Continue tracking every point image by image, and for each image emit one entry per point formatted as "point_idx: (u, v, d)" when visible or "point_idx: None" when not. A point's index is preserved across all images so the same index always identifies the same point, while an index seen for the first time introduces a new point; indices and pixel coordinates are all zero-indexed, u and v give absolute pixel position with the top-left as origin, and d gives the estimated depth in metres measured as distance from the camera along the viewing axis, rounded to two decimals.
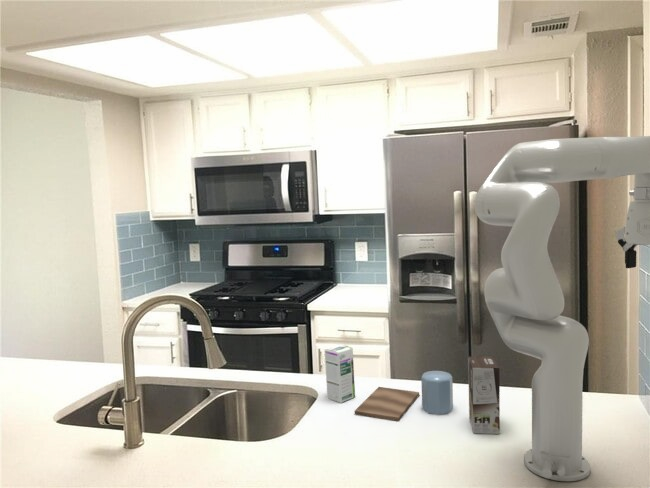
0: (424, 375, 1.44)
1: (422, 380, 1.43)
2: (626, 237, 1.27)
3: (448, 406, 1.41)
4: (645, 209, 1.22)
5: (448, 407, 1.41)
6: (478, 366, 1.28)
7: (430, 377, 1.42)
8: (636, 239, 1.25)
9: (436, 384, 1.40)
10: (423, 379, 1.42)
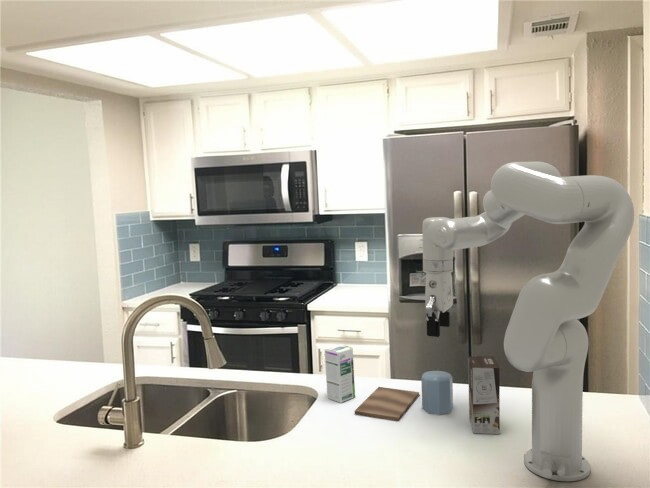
0: (424, 375, 1.44)
1: (422, 380, 1.43)
2: (444, 307, 1.36)
3: (448, 406, 1.41)
4: (448, 278, 1.39)
5: (448, 407, 1.41)
6: (478, 366, 1.28)
7: (430, 377, 1.42)
8: (447, 306, 1.38)
9: (436, 384, 1.40)
10: (423, 379, 1.42)
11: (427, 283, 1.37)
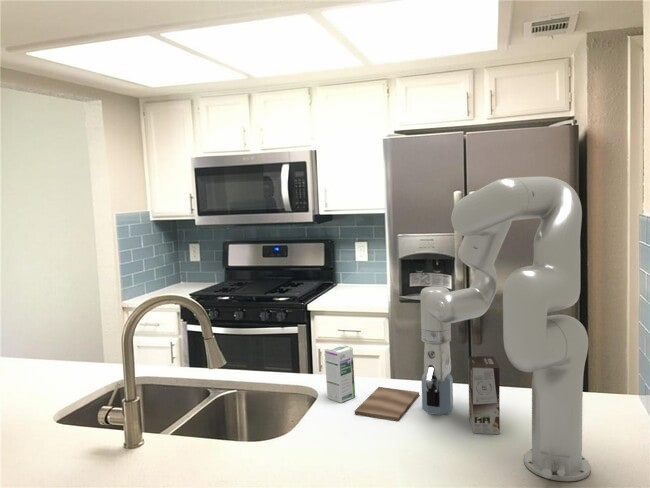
0: None
1: (422, 380, 1.43)
2: (442, 377, 1.38)
3: (448, 406, 1.41)
4: (446, 347, 1.41)
5: (448, 407, 1.41)
6: (478, 366, 1.28)
7: None
8: (445, 375, 1.40)
9: None
10: (423, 379, 1.42)
11: (426, 353, 1.39)
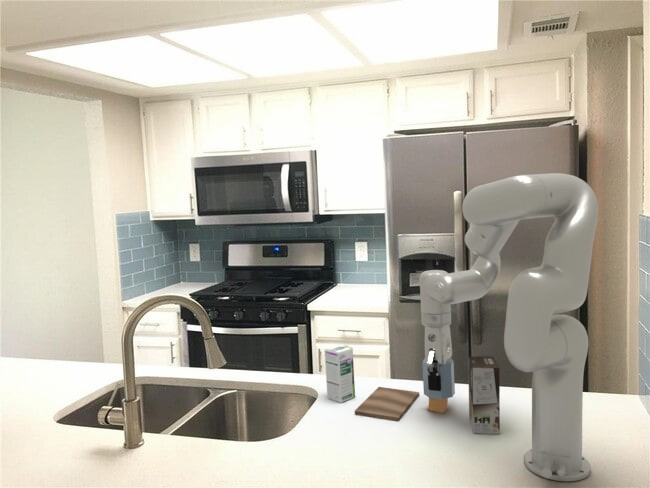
0: None
1: (423, 365, 1.42)
2: (443, 360, 1.37)
3: (450, 390, 1.40)
4: (447, 330, 1.40)
5: (450, 391, 1.40)
6: (478, 366, 1.28)
7: None
8: (446, 359, 1.39)
9: None
10: (424, 364, 1.42)
11: (426, 336, 1.38)
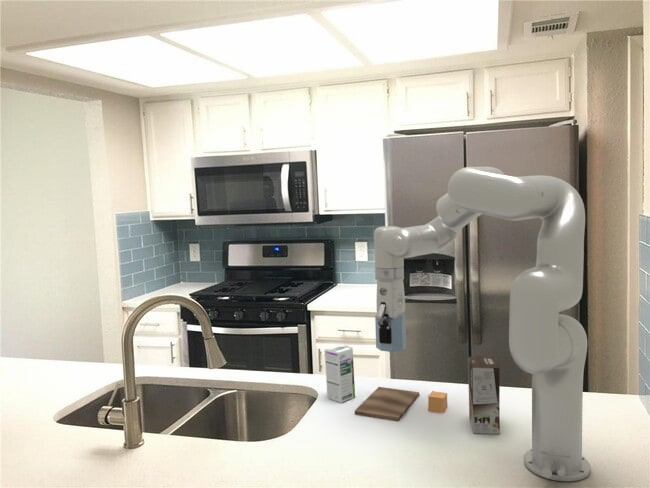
0: None
1: (376, 319, 1.45)
2: (394, 314, 1.40)
3: (400, 343, 1.43)
4: (399, 285, 1.43)
5: (400, 344, 1.43)
6: (478, 366, 1.28)
7: None
8: (397, 313, 1.42)
9: None
10: (376, 317, 1.44)
11: (378, 290, 1.41)
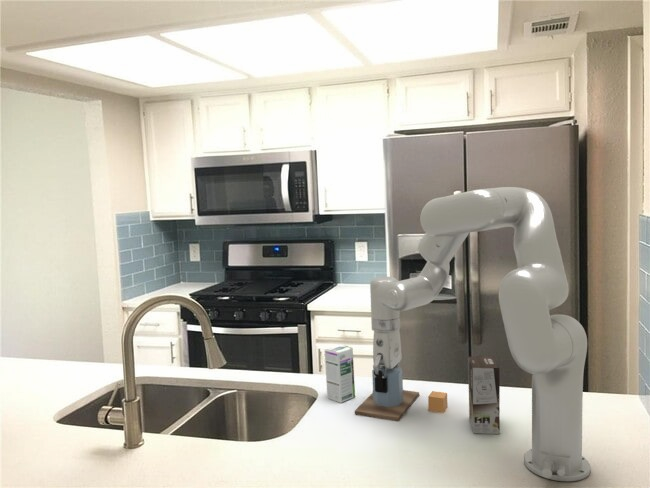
0: None
1: (373, 373, 1.47)
2: (390, 365, 1.42)
3: (397, 398, 1.45)
4: (395, 335, 1.45)
5: (397, 399, 1.45)
6: (478, 366, 1.28)
7: None
8: (394, 363, 1.44)
9: (385, 377, 1.43)
10: (373, 372, 1.46)
11: (374, 341, 1.43)
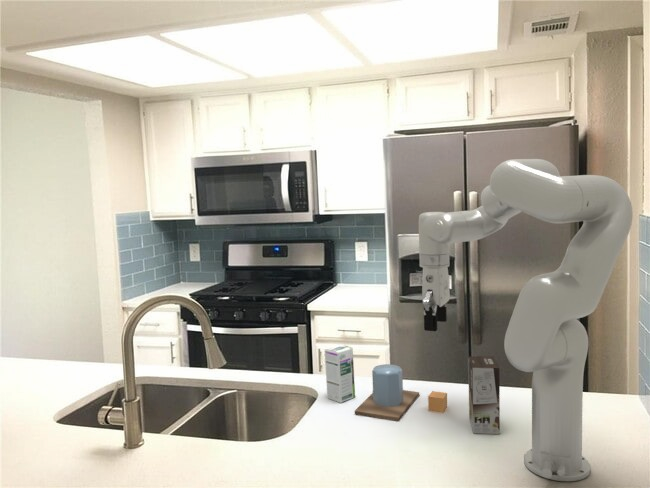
0: (375, 368, 1.47)
1: (373, 373, 1.47)
2: (441, 301, 1.36)
3: (397, 398, 1.45)
4: (445, 272, 1.39)
5: (397, 399, 1.45)
6: (478, 366, 1.28)
7: (380, 370, 1.46)
8: (444, 300, 1.38)
9: (385, 377, 1.43)
10: (373, 372, 1.46)
11: (424, 277, 1.37)
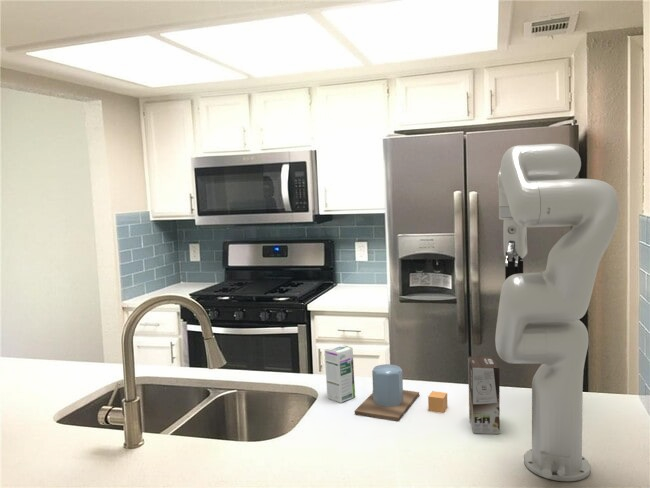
0: (375, 368, 1.47)
1: (373, 373, 1.47)
2: (523, 252, 1.37)
3: (397, 398, 1.45)
4: None
5: (397, 399, 1.45)
6: (478, 366, 1.28)
7: (380, 370, 1.46)
8: (524, 252, 1.40)
9: (385, 377, 1.43)
10: (373, 372, 1.46)
11: (506, 229, 1.38)
